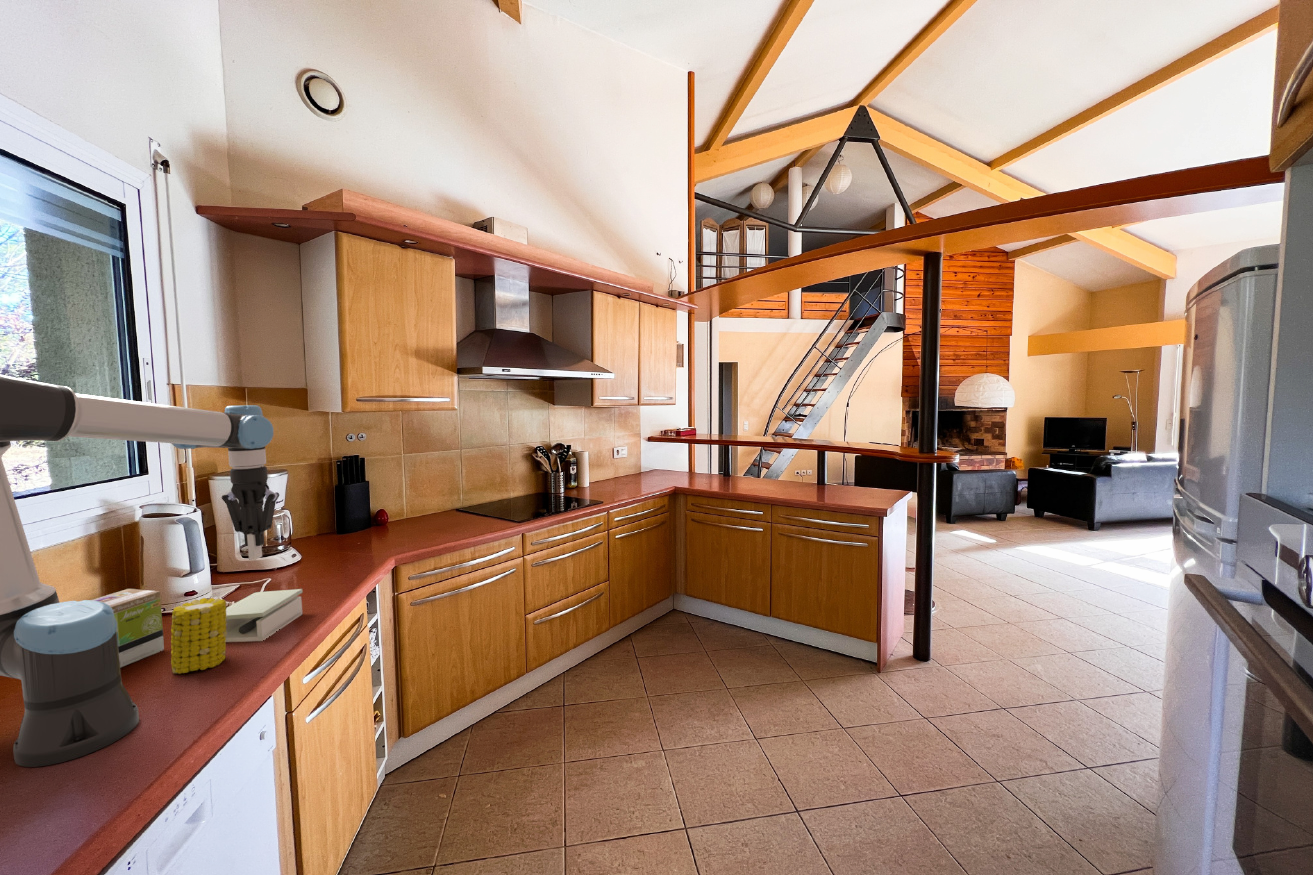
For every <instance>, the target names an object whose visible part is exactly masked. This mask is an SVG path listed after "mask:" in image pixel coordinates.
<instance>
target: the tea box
mask: <svg viewBox="0 0 1313 875" xmlns="http://www.w3.org/2000/svg"><path fill="white" fill-rule="evenodd" d="M92 600H94V601H100V602H103V603H106V604H108V605H109V606H110V607H111V608H112V609H113V612H114V617H115V619H116V622H117V640H118V651H119V661H120V669H121V668H123V667H126V666H127V665H130V664H133V663H135V662H138V661H140V660H144V659H145V658H148V657H150V656H152V655H155V654H158V653H160V651H161V652H163V651H164V649H165V645H164V644H165V643H164V640H165V639H164V627H163V617H162V616H163V615H162V604H161V603H162V601H161V591H158V590H147V589H136V588H126V589H124V590H120V591H117V592H113V593H109V594H106V595H103V596H100V597H97V598H93V599H92Z"/></svg>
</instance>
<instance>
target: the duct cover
mask: <svg viewBox="0 0 1313 875" xmlns="http://www.w3.org/2000/svg"><path fill="white" fill-rule="evenodd" d="M301 594H303V588H297V589H284V590H281V589H280V590H270V591H257V592H256V591H255V592H254V593H252V594H249V595H248V596H246V597H244V598H243V599H241V600H238V601H236V602H234V603H233V604H231V605H229V606H226V608H227V609H226V617H227V618H226V620H227V619H240V618H254V617H264V616H265V615H267V614H268V613H270V612H272V611H273V610H275V609H277V608H279V607H280V606H282V605H284V604H285V603H287V602H289V601H290V600H292V599H294V598H295V597H298V596H299V595H301Z"/></svg>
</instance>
